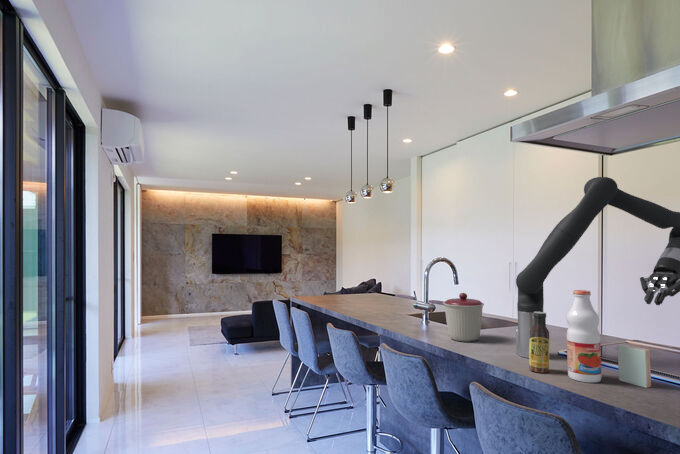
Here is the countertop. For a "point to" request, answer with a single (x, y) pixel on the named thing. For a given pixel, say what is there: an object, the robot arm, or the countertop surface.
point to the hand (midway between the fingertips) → (652, 302)
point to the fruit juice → (583, 340)
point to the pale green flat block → (634, 365)
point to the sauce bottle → (539, 344)
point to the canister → (463, 318)
